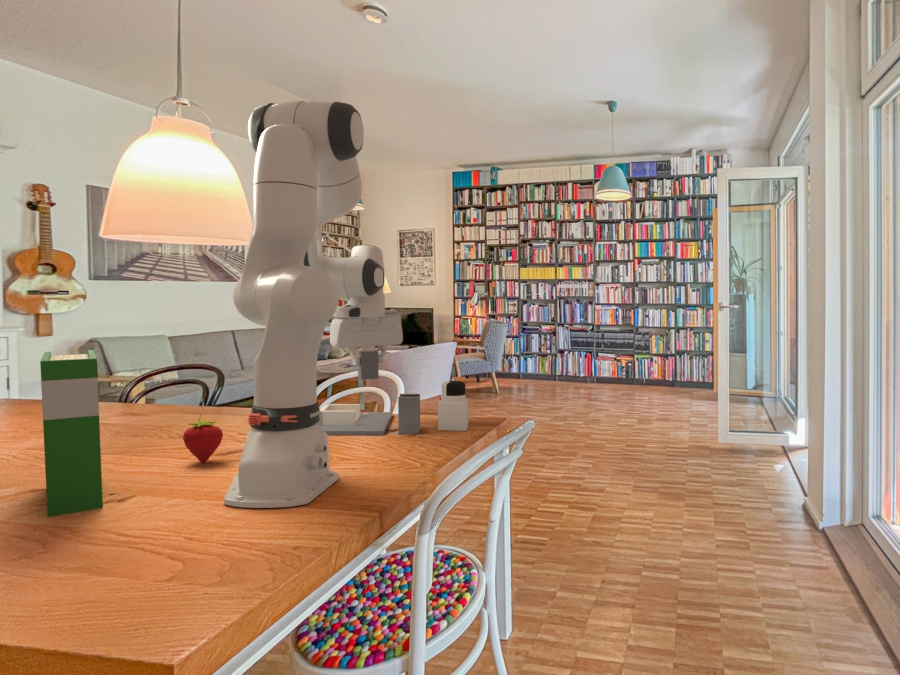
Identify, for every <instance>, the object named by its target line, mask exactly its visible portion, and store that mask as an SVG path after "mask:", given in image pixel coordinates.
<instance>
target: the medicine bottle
mask: <svg viewBox="0 0 900 675" xmlns="http://www.w3.org/2000/svg"><path fill="white" fill-rule="evenodd" d="M437 408H438V409H437V411H438V412H437V420H438V421H437V425H438V426H437V430H438V431H439V430H443V432H445V430H446V432H447V431H448V432H466V431H467V430H468V427H469V398H466V383H465V382H464V381H461V380H446V381H444V382H442V384H441V399H440V400H439V401H438V403H437Z"/></svg>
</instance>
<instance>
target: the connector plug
mask: <svg viewBox="0 0 900 675" xmlns="http://www.w3.org/2000/svg"><path fill="white" fill-rule="evenodd" d="M378 353H379V350H376V346H368V347H360V349H359V350H357V357H358V358H361V365H357V379H360V380H362V381H363V380H378V379H380V378H379V376H380V375H379V372H380V371H379V363H378Z"/></svg>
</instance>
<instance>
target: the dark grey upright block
mask: <svg viewBox="0 0 900 675" xmlns="http://www.w3.org/2000/svg"><path fill="white" fill-rule="evenodd" d="M397 400H398V402H397V405H398V407H397V408H398V409H397V410H398V415H397V417H398V418H397V419H398V424H397V425H398V427H397V431H398V435H420V432H421V393H399V396H398V397H397Z"/></svg>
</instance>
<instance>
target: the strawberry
mask: <svg viewBox="0 0 900 675" xmlns="http://www.w3.org/2000/svg"><path fill="white" fill-rule="evenodd" d="M201 415H202V414H200V415H199V419H198V421H199V422H194V423H193V422H192V423H191V422H190V423H188V424H187V425H188V426H189V425H190V426H192V427H189V428H187V429H186V430H185V431H184V432H183V436H182V439H183V442H184V445H185V447H186V449H187V450H188V451H189V452H190V454H192V455H193V456H194V457H195V458H196V459H197V460H198V461H199V462H200V463H205V462H207V461H208V460H209V459H210V458H211V456H212V455H213V454H214V453H215V452H216V450H217V449H218V448H219V447H220V445H221V443H222V440H223V438H224V433H223V431H222V430H223V429H221V428H220V427H219V426H217V425H216V426H215V425H214V424H216V423H217V422H216V421H203V420H201V417H202V416H201Z"/></svg>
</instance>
